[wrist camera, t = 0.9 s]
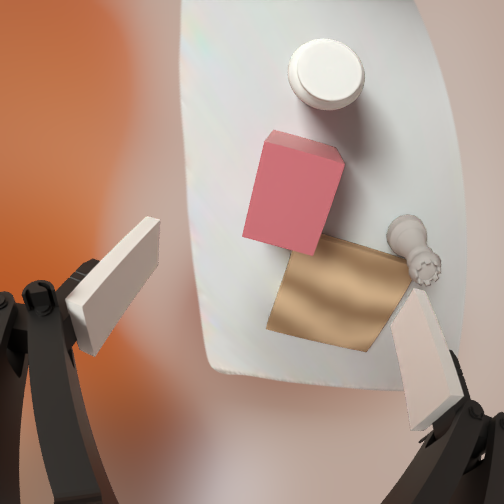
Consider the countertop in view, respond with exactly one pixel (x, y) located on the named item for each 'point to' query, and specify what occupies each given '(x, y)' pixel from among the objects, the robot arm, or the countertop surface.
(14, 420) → the robot arm
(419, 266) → the rook chess piece
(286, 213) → the brick
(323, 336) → the base plate
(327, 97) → the pill bottle
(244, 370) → the countertop surface
